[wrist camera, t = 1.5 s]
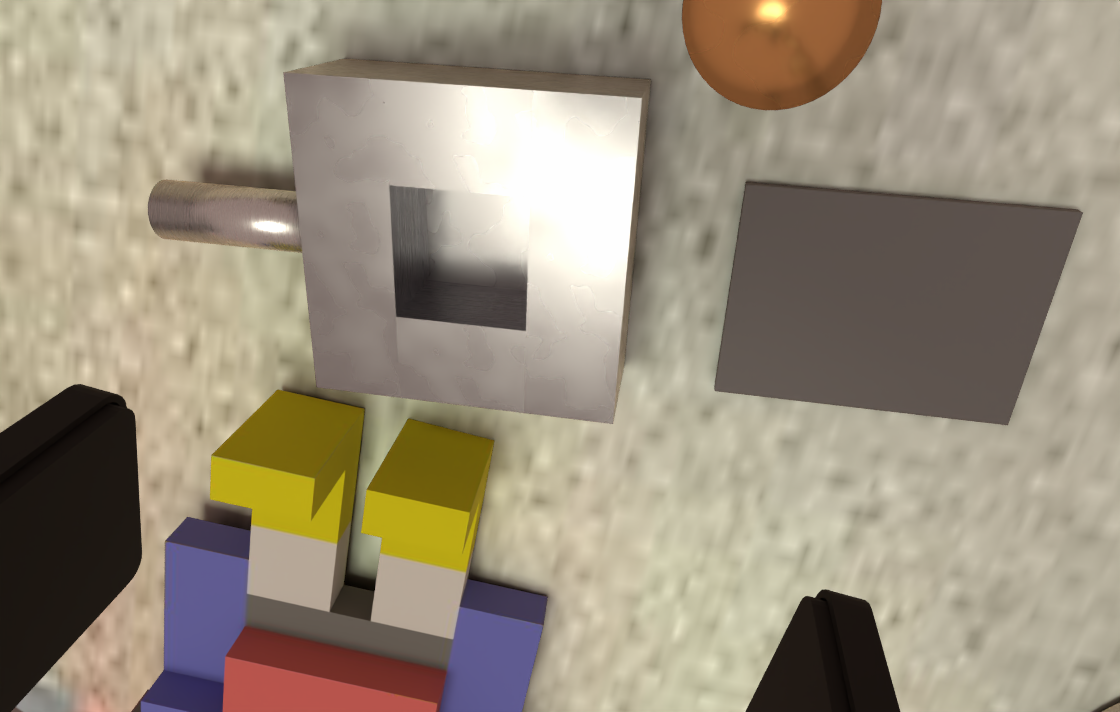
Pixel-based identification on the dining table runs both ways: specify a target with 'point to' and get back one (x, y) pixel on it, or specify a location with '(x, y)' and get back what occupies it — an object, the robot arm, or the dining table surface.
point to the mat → (889, 299)
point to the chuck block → (451, 230)
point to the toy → (340, 578)
